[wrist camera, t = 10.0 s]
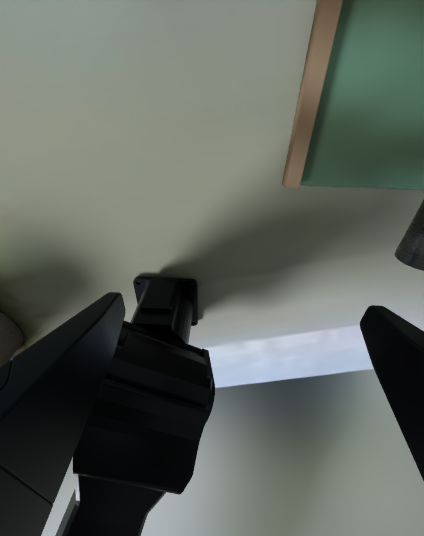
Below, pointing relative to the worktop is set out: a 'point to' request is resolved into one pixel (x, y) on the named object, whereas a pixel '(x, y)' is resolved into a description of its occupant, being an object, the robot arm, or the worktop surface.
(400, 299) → the worktop surface
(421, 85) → the pitch
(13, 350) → the pillar candle
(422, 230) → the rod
